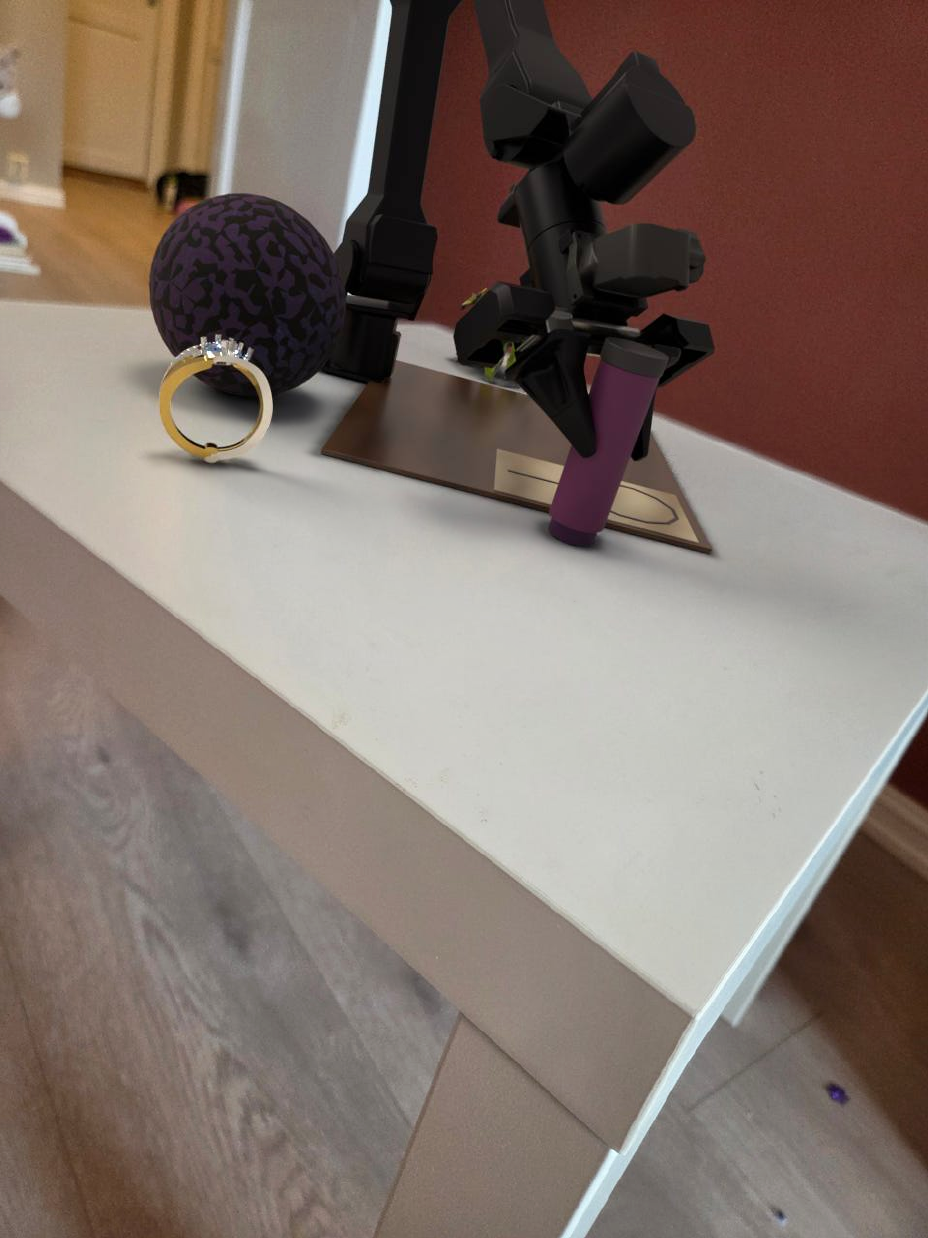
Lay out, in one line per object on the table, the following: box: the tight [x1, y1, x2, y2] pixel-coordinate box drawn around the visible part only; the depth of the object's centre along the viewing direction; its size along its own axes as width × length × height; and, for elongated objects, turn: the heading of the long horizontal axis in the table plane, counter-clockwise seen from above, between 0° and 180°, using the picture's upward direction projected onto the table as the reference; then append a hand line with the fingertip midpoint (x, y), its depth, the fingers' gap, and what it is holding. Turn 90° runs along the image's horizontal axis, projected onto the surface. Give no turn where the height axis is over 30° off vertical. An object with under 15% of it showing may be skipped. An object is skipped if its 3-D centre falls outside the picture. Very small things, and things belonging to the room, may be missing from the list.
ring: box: [158, 333, 273, 464], centre depth 56 cm, size 7×3×8 cm, turn 107°
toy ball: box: [148, 192, 346, 398], centre depth 69 cm, size 15×15×15 cm
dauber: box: [547, 337, 669, 547], centre depth 59 cm, size 4×4×13 cm
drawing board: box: [320, 359, 713, 555], centre depth 81 cm, size 30×36×1 cm
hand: (615, 457), depth 58 cm, fingers open, 4 cm apart
